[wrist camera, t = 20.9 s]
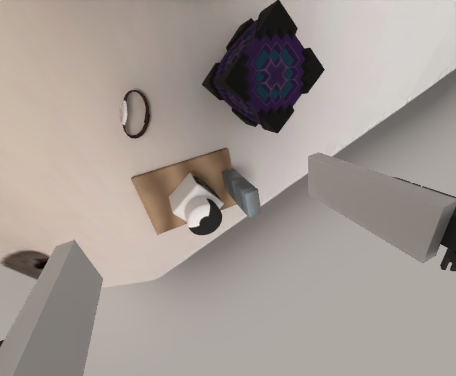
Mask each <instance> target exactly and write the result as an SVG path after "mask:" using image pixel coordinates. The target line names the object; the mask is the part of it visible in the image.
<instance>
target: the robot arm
mask: <svg viewBox="0 0 456 376" xmlns="http://www.w3.org/2000/svg"><path fill="white" fill-rule="evenodd" d="M308 172H309V195H311V196H312V197H314V198H316V199H317V200H319V201H321V202H323V203H324V204H325V205H327V206H329V207H330V208H332V209H334V210H335V211H337V212H339V213H340V214H342V215H344V216H345V217H347V218H349V219H350V220H352V221H354V222H355V223H357V224H359V225H360V226H362V227H364V228H365V229H367V230H368V231H370V232H372V233H374V234H375V235H377V236H378V237H380V238H382V239H383V240H385V241H386V242H388V243H390V244H392V245H393V246H395V247H396V248H398V249H400V250H401V251H403V252H405V253H406V254H408V255H410V256H411V257H413V258H415V259H416V260H418V261H419V262H421V263H424V262H426V261H428V260H429V259H431V258H432V257H434V256H436V254H437V251H438V249H439V246H440V244H441V245H443V246H445V247H447V248H448V249H447V251H446V254H445V256H444V258H443V261H442V263H441V265H440V266H441V269H442V270H446V268H447V265H448V263H449V262H452V266H451V268H450V270H451V271H456V197H454V196H451V195H448V194H445V193H442V192H439V191H436V190H433V189H430V188H427V187H424V186H423V187H421V186H420V185H418V184H415V183H410V182H409V181H405V180H403V179H400V178H395V177H390V176H387V175H384V174H381V173H378V172H375V171H372V170H369V169H366V168H363V167H360V166H357V165H354V164H351V163H348V162H345V161H342V160H339V159H336V158H334V157H331V156H328V155H325V154H322V153H316V154H313V155H310V156H308ZM102 281H103V278H102V277H101V275H100V274H99V273H98V271H97V270H96V268H95V267H94V266H93V264H92V263H91V262H90V260H89V259H88V258H87V256H86V255H85V254H84V252H83V251H82V249H81V248H80V247H79V245H78V244H77V243H76V241H75V240H73V241H70V242H67V243H65V244H62V245H59V246H56V248H55V249H54V251H53V253H52V255H51V257H50V258H49V260H48V262H47V264H46V266H45V267H44V269H43V271H42V273H41V275H40V276H39V278H38V280H37V282H36V284H35V285H34V287H33V289H32V291H31V293H30V295H29V296H28V298H27V300H26V302H25V304H24V305H23V307H22V309H21V311H20V313H19V315H18V316H17V318H16V320H15V322H14V323H13V325H12V327H11V329H10V331H9V332H8V334H7V336H6V338H5V340H2V341H0V376H83V373H84V368H85V363H86V358H87V354H88V348H89V344H90V339H91V334H92V330H93V325H94V320H95V315H96V310H97V305H98V300H99V296H100V290H101V286H102Z"/></svg>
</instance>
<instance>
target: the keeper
mask: <svg viewBox="0 0 456 376" xmlns="http://www.w3.org/2000/svg"><path fill="white" fill-rule="evenodd" d="M190 172H191V173H193V174H194V175H195V176H197V177H198V178H199V179H201V180H202V181H203V182H204V183H206V184H207V185H208V186H210V187H211V188H212V189H213V190H214V191H215V192H216V194H217V195H218V196H219V198H220V199H221V200H222V202H223V203H224V204H223V206H222V207H221V208H220V210H223V209H226V208H228V207H231V206H233V205H236V204H238V205H239V207H240V208H241V209H242V210H243V211H244V212H245V214H246V215H247V216H248V217H252V216H255V215H257V214H259V213H261V208H260V201H259V194H258V189H257V188H255V187H254V186H253V185H252V184H251V183H249V182H248V181H247V180H246V179H245V178H243V177H242V176H241V175H240V174H239V173H237V172H236V171H235V170H234V169H232V166H231V161H230V156H229V151H228V148H224V149H221V150H218V151H214V152H211V153H208V154H205V155H202V156H198V157H195V158H192V159H189V160H186V161H182V162H179V163H176V164H173V165H170V166H166V167H163V168H160V169H157V170H154V171H150V172H147V173H144V174H141V175H138V176H134V177H132V178H131V180H132V182H133V184H134V186H135V188H136V190H137V192H138V194H139V197H140V199H141V201H142V203H143V205H144V207H145V209H146V211H147V214H148V216H149V218H150V220H151V222H152V224H153V226H154V228H155V231H156V233H157V235H158V234H161V233H163V232H166V231H169V230H171V229H174V228H176V227H179V226H182V225H184V224H187V222H186V221H185V220H183V219H181V218H179V217H178V216H176V215H174V214H173V212H172V208H171V204H170V201H169V196H170V194H171V193H172V192H173V191H174V190H175V189H176V188H177V186H178V185H179V184H180V183H181V182H182V181H183V179H184V178H185V177H186V176H187V175H188V174H189V173H190Z"/></svg>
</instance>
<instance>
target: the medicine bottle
mask: <svg viewBox="0 0 456 376" xmlns="http://www.w3.org/2000/svg"><path fill="white" fill-rule="evenodd" d="M169 201H170V204H171V208H172V212H173V214H174V215H176V216H178V217H179V218H181V219H183V220H185V221H186V222H187V224H188V227H189V229H190V230H191V231H192V232H193V233H194V234H197V235H207V234H210V233H212V232H214V231H215V230H216V229H217V228H218V227H219V225H220V224H221V221H222V213H221V211H220V208H221V207H222V206H223V204H224V203H223V202H222V200H221V199H220V198H219V196H218V195H217V194H216V192H215V191H214V190H213V189H212V188H211V187H210V186H208V185H207V184H206V183H204V182H203V181H202V180H201V179H199V178H198V177H197V176H195V175H194V174H193V173H191V172H190V173H189V174H188V175H187V176H186V177H185V178H184V179H183V181H182V182H181V183H180V184H179V185H178V186H177V188H176V189H175V190H174V191H173V192H172V193H171V194H170V196H169Z"/></svg>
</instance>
